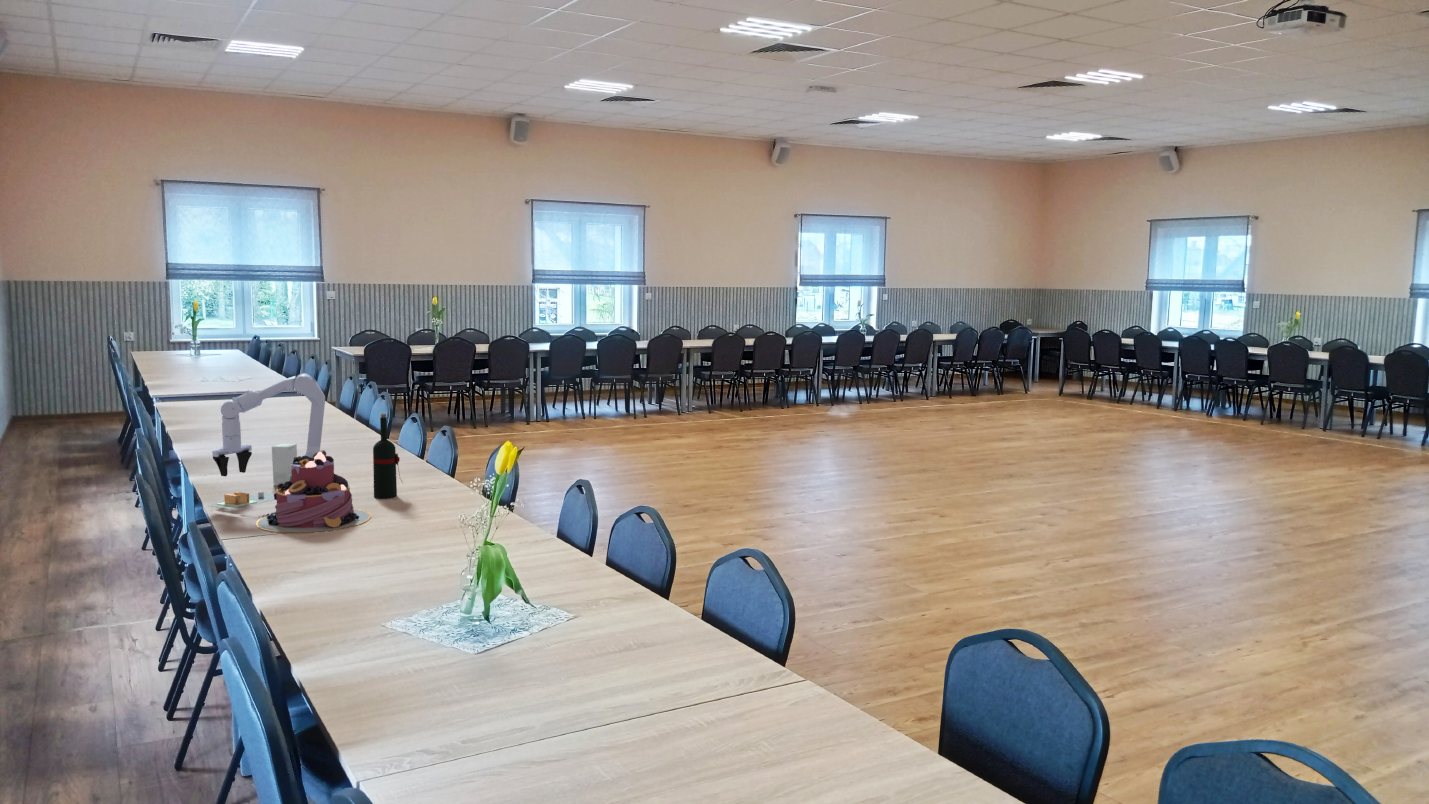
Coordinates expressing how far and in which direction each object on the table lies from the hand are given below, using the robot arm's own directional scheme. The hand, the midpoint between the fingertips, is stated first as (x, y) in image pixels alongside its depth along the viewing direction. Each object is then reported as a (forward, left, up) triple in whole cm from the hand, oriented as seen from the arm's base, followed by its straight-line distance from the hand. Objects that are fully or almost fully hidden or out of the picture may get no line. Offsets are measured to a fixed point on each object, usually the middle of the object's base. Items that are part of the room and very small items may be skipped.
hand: (233, 474), depth 355 cm
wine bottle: (-40, -32, -10) cm, 52 cm away
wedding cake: (-43, +6, -10) cm, 45 cm away
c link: (-6, +4, -9) cm, 11 cm away
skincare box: (+6, -28, -10) cm, 30 cm away
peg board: (-6, -1, -10) cm, 12 cm away
